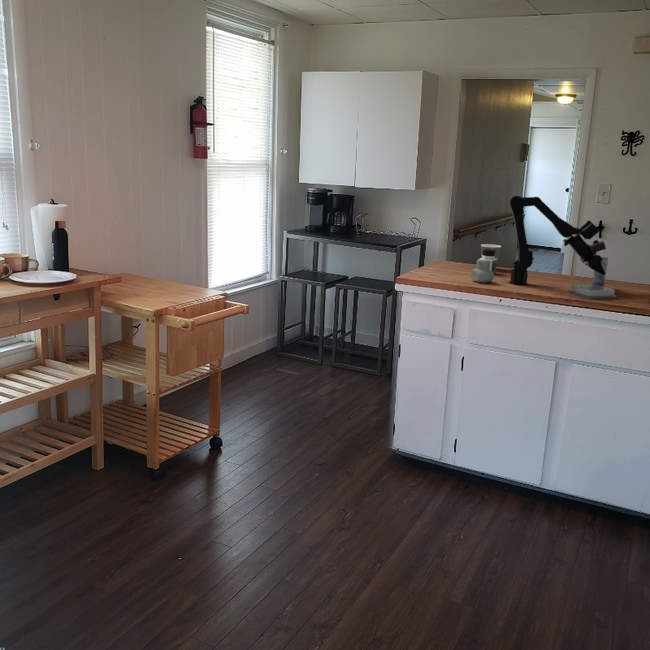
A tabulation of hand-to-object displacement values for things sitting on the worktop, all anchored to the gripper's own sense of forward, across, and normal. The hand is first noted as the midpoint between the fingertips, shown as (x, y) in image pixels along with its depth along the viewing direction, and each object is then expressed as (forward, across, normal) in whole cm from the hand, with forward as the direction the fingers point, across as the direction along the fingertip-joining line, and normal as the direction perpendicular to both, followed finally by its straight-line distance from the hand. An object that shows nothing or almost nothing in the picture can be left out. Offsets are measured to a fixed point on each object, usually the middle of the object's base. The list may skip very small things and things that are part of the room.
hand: (603, 273), depth 297 cm
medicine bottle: (-29, +25, +39) cm, 55 cm away
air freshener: (-32, -1, +42) cm, 53 cm away
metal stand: (0, -17, +10) cm, 20 cm away
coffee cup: (-28, +39, +38) cm, 61 cm away
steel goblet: (+4, 0, +6) cm, 7 cm away
